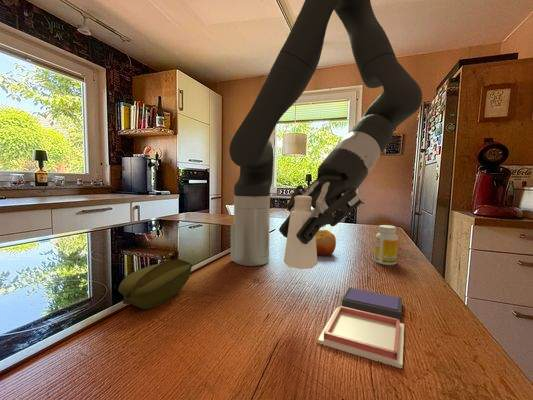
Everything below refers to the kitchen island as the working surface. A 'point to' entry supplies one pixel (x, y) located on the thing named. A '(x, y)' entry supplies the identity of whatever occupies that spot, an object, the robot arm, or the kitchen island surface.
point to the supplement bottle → (386, 245)
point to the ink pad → (373, 302)
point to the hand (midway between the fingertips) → (291, 236)
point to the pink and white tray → (365, 335)
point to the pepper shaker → (295, 250)
